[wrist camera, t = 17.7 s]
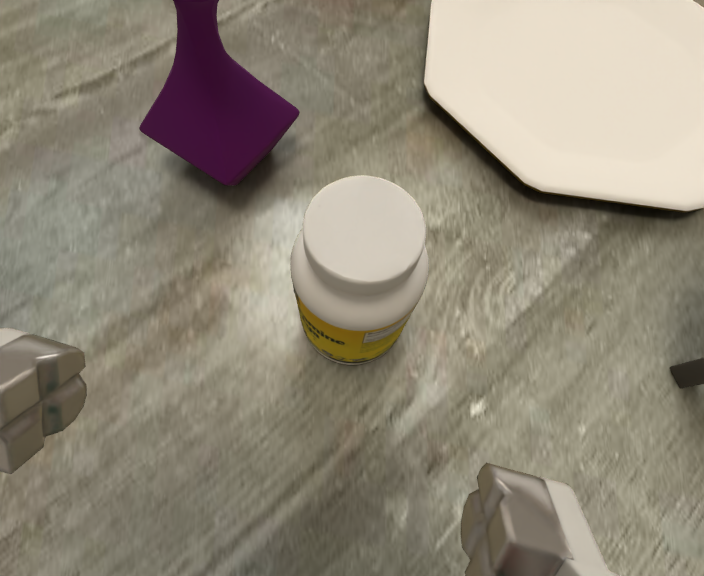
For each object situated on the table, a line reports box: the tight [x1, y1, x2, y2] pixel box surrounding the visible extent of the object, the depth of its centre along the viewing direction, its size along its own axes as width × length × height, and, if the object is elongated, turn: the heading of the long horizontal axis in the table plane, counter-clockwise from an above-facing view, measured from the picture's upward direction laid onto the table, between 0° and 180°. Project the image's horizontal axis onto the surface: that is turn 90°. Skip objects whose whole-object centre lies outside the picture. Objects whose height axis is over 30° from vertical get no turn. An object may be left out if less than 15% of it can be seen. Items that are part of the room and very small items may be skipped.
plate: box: [424, 0, 704, 213], centre depth 34 cm, size 28×28×2 cm
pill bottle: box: [291, 176, 429, 365], centre depth 20 cm, size 6×6×11 cm
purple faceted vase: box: [140, 0, 299, 186], centre depth 21 cm, size 8×8×18 cm
